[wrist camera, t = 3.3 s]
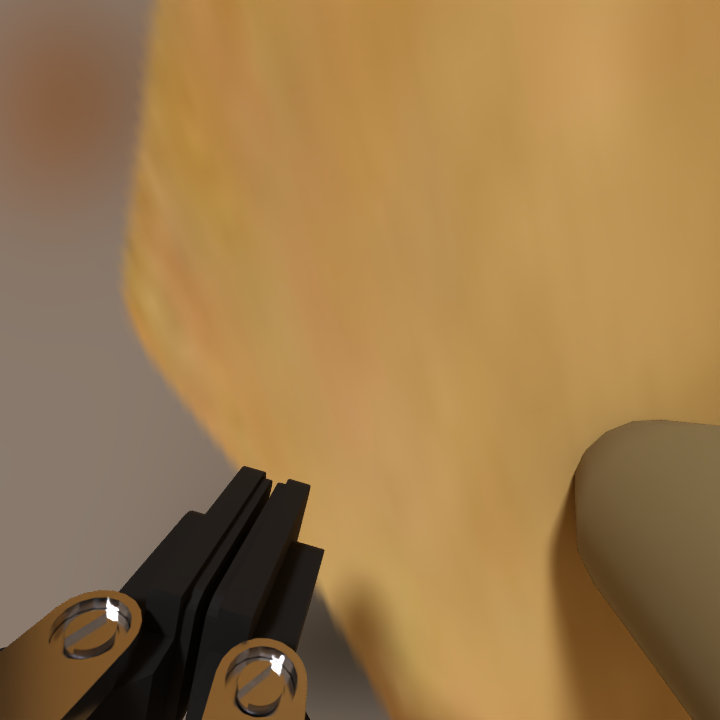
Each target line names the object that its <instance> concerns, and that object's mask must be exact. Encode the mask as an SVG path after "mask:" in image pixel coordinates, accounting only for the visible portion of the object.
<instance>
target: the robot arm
mask: <svg viewBox="0 0 720 720" xmlns="http://www.w3.org/2000/svg"><path fill="white" fill-rule="evenodd" d="M271 487H272V480H269V479H266V472H264V471H260V470H257V469H253V468H250V467H246V466H243V467H242V468H241V469H240V471H239V472H238V473H237V474H236V476H235V477H234V478H233V480H232V481H231V482H230V483H229V485H228V486H227V487H226V489H225V490H224V491H223V492H222V494H221V495H220V496H219V497H218V499H217V500H216V501H215V503H214V504H213V505H212V506H211V508H210V509H209V510H208V511H207V513H206V514H202V513H198V512H195V511H189V512H188V513H187V514H186V515H185V516H184V517H183V518H182V519H181V520H180V521H179V523H178V524H177V525H176V526H175V527H174V528H173V530H172V531H171V532H170V533H169V534H168V535H167V536H166V538H165V539H164V540H163V541H162V542H161V543H160V545H159V546H158V547H157V548H156V549H155V550H154V552H153V553H152V554H151V555H150V556H149V557H148V558H147V560H146V561H145V562H144V563H143V564H142V565H141V567H140V568H139V569H138V570H137V571H136V572H135V574H134V575H133V576H132V577H131V578H130V579H129V581H128V582H127V583H126V584H125V585H124V586H123V588H122V589H121V590H120V591H119V592H116V591H106V590H98V591H93V592H87V593H83V594H81V595H78V596H76V597H73V598H71V599H69V600H67V601H65V602H64V603H62V604H61V605H59V606H58V607H56V608H55V609H53V610H52V611H51V612H50V613H48V614H47V615H46V616H45V617H43V618H42V619H41V620H40V621H39V622H37V623H36V624H35V625H33V626H32V627H31V628H30V629H28V630H27V631H26V632H25V633H23V634H22V635H21V636H20V637H18V638H17V639H16V640H15V641H13V642H12V643H11V644H10V645H9V646H7V647H5V648H1V649H0V720H183V718H184V716H185V714H186V712H187V715H186V720H310V719H309V717H308V715H307V713H306V711H305V709H306V696H307V674H306V670H305V668H304V665H303V663H302V661H301V659H300V658H299V657H298V655H297V654H296V650H297V647H298V643H299V640H300V636H301V633H302V630H303V626H304V622H305V619H306V616H307V612H308V609H309V605H310V601H311V598H312V594H313V591H314V587H315V583H316V580H317V576H318V572H319V569H320V565H321V561H322V558H323V554H324V549H320V548H317V547H314V546H310V545H307V544H303V543H300V542H297V540H298V536H299V532H300V528H301V524H302V520H303V516H304V512H305V508H306V504H307V500H308V496H309V491H310V485H308V484H305V483H302V482H298V481H295V480H291V479H288V481H287V483H286V484H283V483H278V484H277V485H276V487H275V489H274V491H273V492H272V494H271V496H270V492H271ZM269 496H270V498H269Z"/></svg>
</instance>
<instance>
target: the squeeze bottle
mask: <svg viewBox="0 0 720 720" xmlns="http://www.w3.org/2000/svg"><path fill="white" fill-rule="evenodd" d="M575 512H576V534H577V550H578V552H579V554H580V556H581V558H582V560H583V562H584V565H585V567H586V569H587V571H588V573H589V575H590V577H591V579H592V581H593V583H594V584H595V586H596V587H597V588H598V590H599V591H600V592H601V594H602V595H603V597H604V598H605V599H606V601H607V602H608V604H609V605H610V606H611V608H612V609H613V610H614V612H615V613H616V615H617V616H618V617H619V619H620V620H621V621H622V623H623V624H624V626H625V627H626V628H627V630H628V631H629V633H630V634H631V635H632V637H633V638H634V639H635V641H636V642H637V644H638V645H639V646H640V648H641V649H642V650H643V652H644V653H645V655H646V656H647V657H648V659H649V660H650V662H651V663H652V664H653V666H654V667H655V668H656V670H657V671H658V673H659V674H660V675H661V677H662V678H663V679H664V681H665V682H666V684H667V685H668V686H669V688H670V689H671V691H672V692H673V693H674V695H675V696H676V697H677V699H678V700H679V702H680V703H681V704H682V706H683V707H684V708H685V710H686V711H687V713H688V714H689V715H690V717H691V718H692V720H720V426H716V425H706V424H697V423H687V422H678V421H668V420H647V421H632V422H630V423H627V424H625V425H622V426H620V427H617V428H615V429H612V430H610V431H607V432H606V433H604V434H603V435H602V436H601V437H600V438H599V439H598V440H597V441H596V442H594V443H593V444H592V445H591V446H590V447H589V448H588V449H587V450H586V451H585V453H584V455H583V457H582V459H581V461H580V463H579V465H578V468H577V470H576V472H575Z"/></svg>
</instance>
